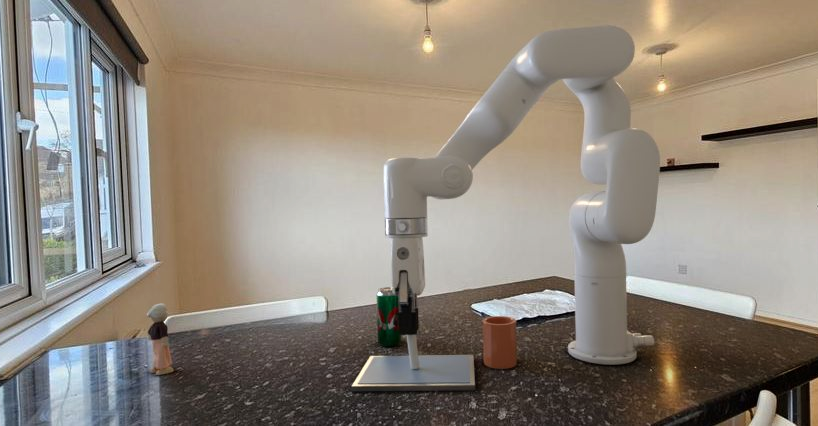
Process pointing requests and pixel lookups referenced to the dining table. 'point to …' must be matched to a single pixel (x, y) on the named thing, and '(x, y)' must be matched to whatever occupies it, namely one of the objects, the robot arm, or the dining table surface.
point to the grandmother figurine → (159, 340)
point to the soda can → (387, 318)
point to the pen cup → (499, 342)
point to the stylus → (413, 351)
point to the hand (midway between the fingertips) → (408, 331)
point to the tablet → (417, 374)
